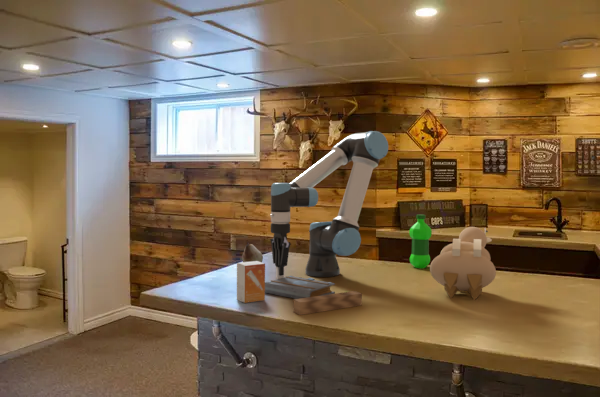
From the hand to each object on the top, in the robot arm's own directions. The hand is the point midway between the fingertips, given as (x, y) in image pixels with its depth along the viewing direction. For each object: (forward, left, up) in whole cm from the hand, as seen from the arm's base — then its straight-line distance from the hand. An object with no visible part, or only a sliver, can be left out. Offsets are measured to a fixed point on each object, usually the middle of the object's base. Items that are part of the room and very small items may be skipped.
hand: (279, 283), depth 190 cm
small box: (+18, +12, -2) cm, 22 cm away
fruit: (-6, -40, -2) cm, 40 cm away
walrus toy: (-52, +43, -2) cm, 68 cm away
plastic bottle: (-77, -5, -2) cm, 77 cm away
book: (-2, +12, -2) cm, 12 cm away
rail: (0, +34, -2) cm, 34 cm away
